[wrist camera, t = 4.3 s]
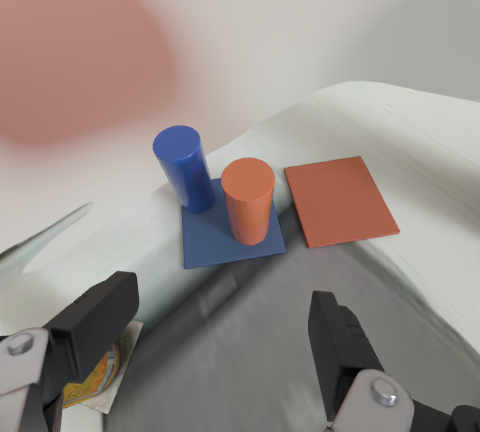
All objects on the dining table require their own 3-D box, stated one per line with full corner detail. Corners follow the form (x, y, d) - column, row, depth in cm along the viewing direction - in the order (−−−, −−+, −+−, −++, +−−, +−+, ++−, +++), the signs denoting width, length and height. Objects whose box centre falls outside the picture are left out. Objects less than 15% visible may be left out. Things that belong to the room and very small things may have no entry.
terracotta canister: (264, 209, 33) (268, 153, 23) (271, 242, 30) (280, 196, 21) (228, 214, 33) (218, 161, 23) (233, 248, 30) (224, 205, 20)
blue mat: (264, 173, 36) (265, 171, 36) (285, 252, 30) (286, 251, 30) (181, 186, 36) (180, 184, 35) (185, 269, 30) (184, 268, 29)
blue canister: (213, 181, 35) (198, 122, 26) (217, 210, 33) (202, 156, 23) (180, 187, 35) (152, 128, 25) (181, 216, 33) (151, 164, 23)
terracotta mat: (358, 158, 37) (360, 155, 36) (398, 233, 31) (400, 231, 30) (283, 170, 36) (284, 167, 36) (308, 248, 30) (309, 247, 30)
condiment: (47, 391, 25) (-109, 430, 14) (90, 307, 28) (-8, 288, 18) (109, 413, 23) (-11, 475, 13) (145, 323, 27) (75, 313, 17)
